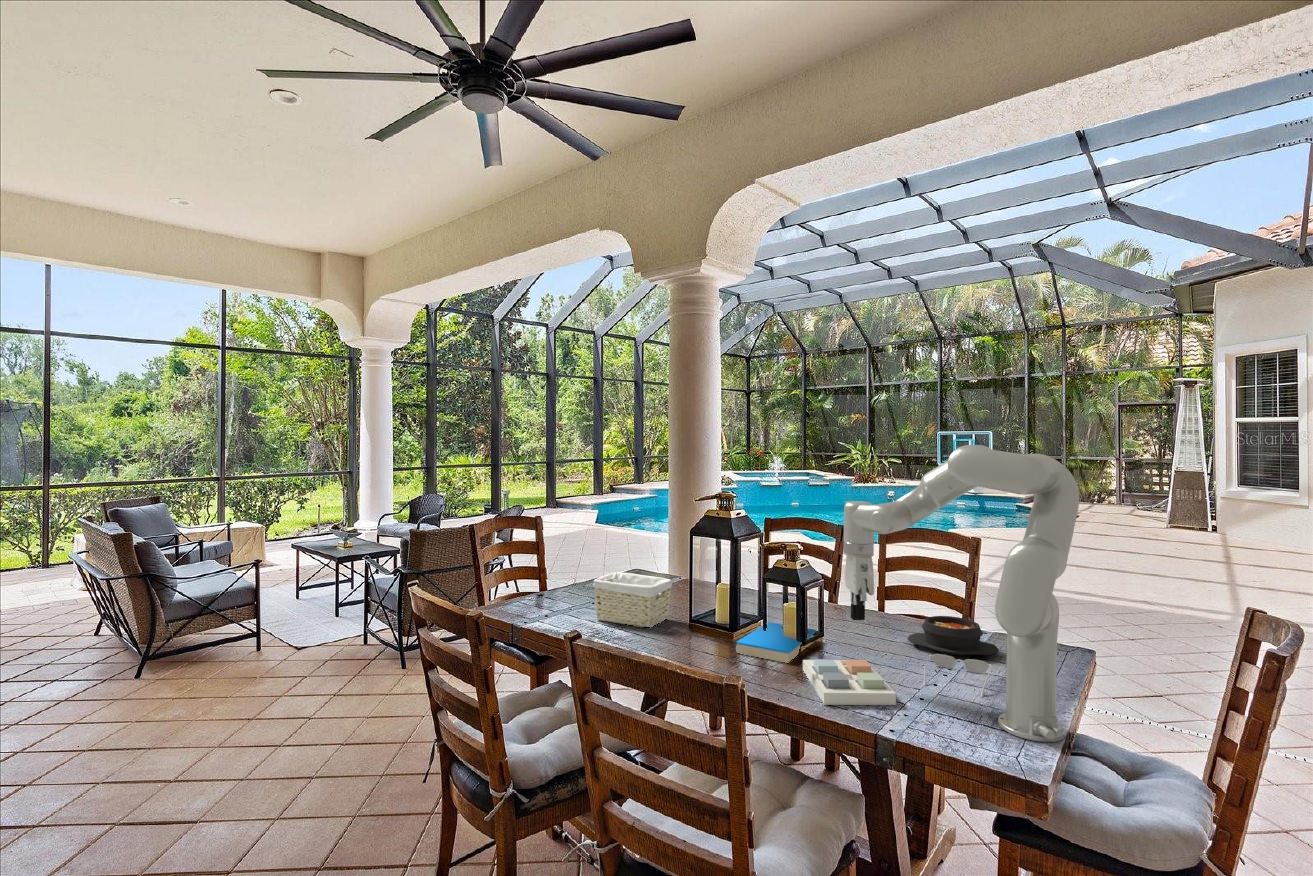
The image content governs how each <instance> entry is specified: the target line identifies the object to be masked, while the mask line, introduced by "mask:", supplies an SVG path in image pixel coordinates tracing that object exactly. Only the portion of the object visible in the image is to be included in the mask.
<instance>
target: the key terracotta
mask: <svg viewBox="0 0 1313 876" xmlns="http://www.w3.org/2000/svg"><path fill="white" fill-rule="evenodd" d="M845 660H846V669H847V671H848V672H849V673H850V674H851V675H857V673H871V667H872V665H871V664H870V663H869V662H868V661H867V660H866V659H845Z"/></svg>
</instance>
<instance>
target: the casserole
mask: <svg viewBox="0 0 1313 876" xmlns="http://www.w3.org/2000/svg"><path fill="white" fill-rule="evenodd" d="M921 628H922V630H923V632H916V633H912V634H910V635H909V636H908V637H907V640H908V641H909V642H910V643H911V644H914V645H917V646H920V647H925V648H928V649H931V650H933V651H935V652H938V653H941V654H943V655H948V656H970V655H979V656H992V655H995V654H997V653H998V652H999V651H1000V650H999V648H998V647H997V646H996V645H995V644H992V643H990V642H987V641H982V640H981V637H982V636H983V635H984V631H983V630H982V629H981V626H980V625H979V623H978V622H975V620H971V619H968V618H967V619H966V618H963V617H959V616H949V615H934V616H933V615H932V616H927V617H926V618H925V619H924V622H923V623H922V624H921Z"/></svg>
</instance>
